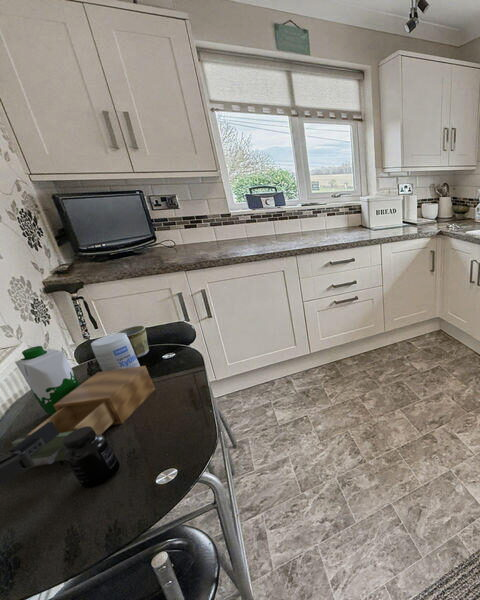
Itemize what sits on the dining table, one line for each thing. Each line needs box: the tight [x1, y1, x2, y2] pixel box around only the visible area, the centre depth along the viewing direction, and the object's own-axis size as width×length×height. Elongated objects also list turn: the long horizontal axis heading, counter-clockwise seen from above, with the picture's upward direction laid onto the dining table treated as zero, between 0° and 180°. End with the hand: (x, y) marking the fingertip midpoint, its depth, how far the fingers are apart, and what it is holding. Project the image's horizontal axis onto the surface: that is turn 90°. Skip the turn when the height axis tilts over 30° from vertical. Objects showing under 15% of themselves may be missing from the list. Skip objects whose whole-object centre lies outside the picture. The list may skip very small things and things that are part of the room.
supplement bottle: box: [62, 426, 121, 489], centre depth 71 cm, size 7×7×12 cm
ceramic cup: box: [114, 325, 150, 359], centre depth 127 cm, size 13×10×10 cm
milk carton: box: [14, 345, 81, 416], centre depth 95 cm, size 9×9×20 cm
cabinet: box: [53, 365, 156, 427], centre depth 94 cm, size 16×14×9 cm
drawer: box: [11, 401, 116, 468], centre depth 81 cm, size 19×13×7 cm, turn 7°
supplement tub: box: [90, 332, 141, 372], centre depth 110 cm, size 10×10×15 cm
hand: (14, 433), depth 58 cm, fingers open, 13 cm apart
